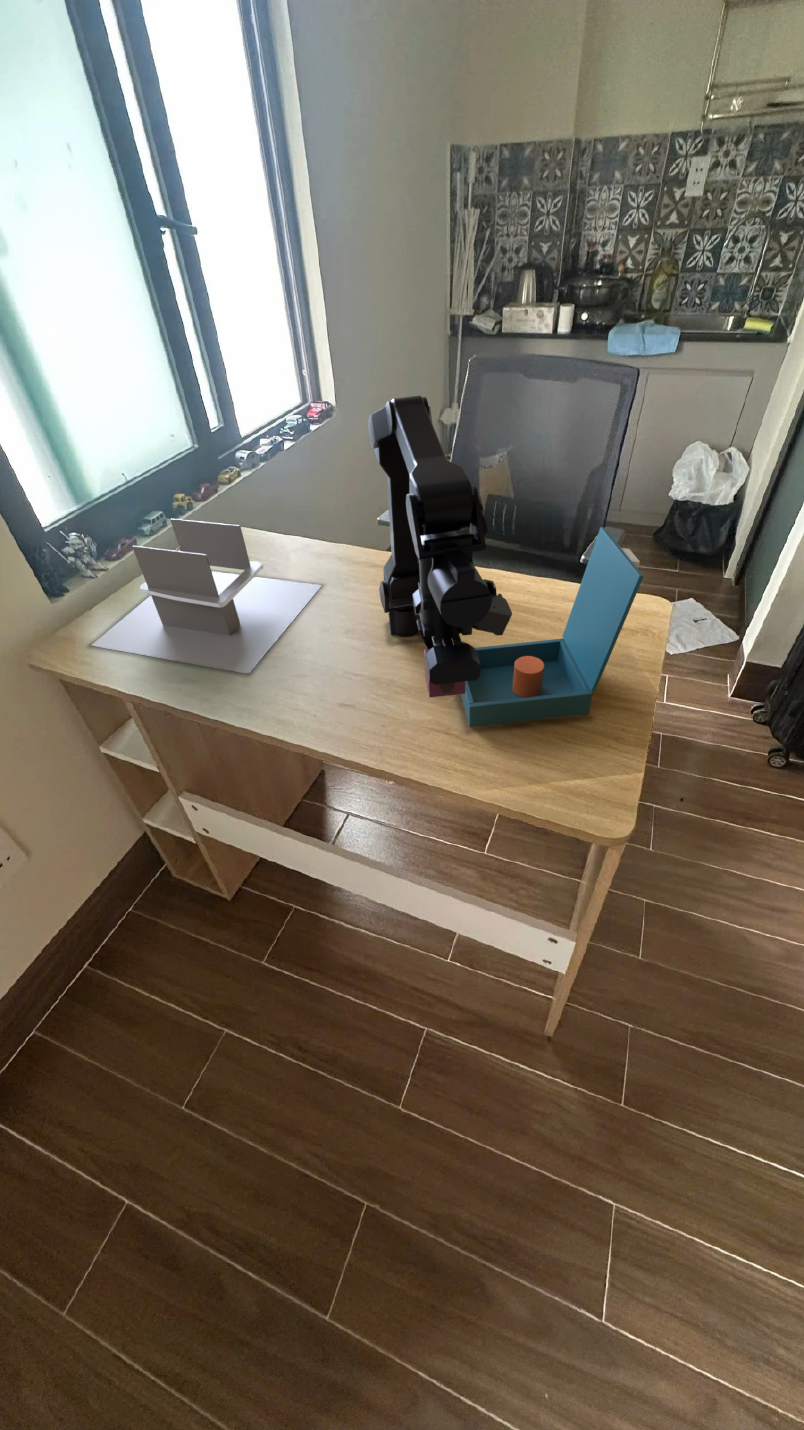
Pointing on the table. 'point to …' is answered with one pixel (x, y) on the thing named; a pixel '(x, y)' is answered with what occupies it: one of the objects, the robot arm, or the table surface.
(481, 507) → the robot arm
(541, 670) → the orange cylinder
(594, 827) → the table surface
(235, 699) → the table surface
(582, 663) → the lunchbox lid
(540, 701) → the box
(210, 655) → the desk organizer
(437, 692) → the purple cube
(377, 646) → the table surface
